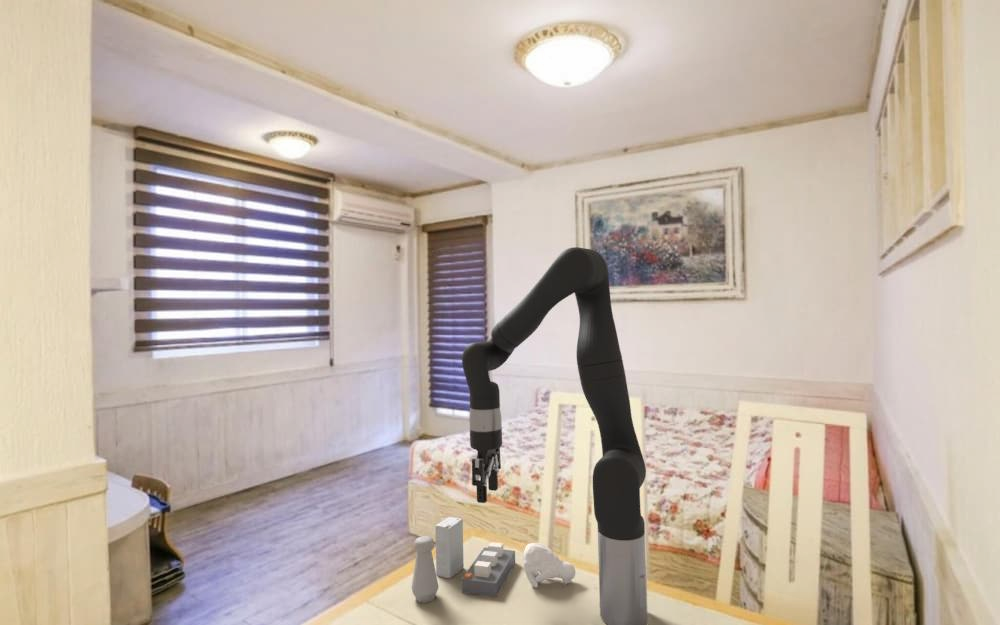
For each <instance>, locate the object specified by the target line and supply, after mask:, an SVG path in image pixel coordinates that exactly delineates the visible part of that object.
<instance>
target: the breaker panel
mask: <svg viewBox="0 0 1000 625" xmlns="http://www.w3.org/2000/svg"><path fill="white" fill-rule="evenodd" d="M484 551H492V552H497V559H498V562H497V564H496V566H495V567H493V566H491V562H484V561H482V557H481V555H482V553H483V552H484ZM515 564H516V550H511V549H504V543H502V542H493V541H491V542H490V543H489V544H488V545H487V547H483V549H482V550H481V551H480V553H479V554H478V556H477V557H476V558H475V560H474V561H473V562H472V563H471V565H470V567H469V568H468V569H467V570H466V572H465V574H464V575H463V576H462V578H461V593H464V594H470V595H478V596H484V597H485V596H487V597H494V598H497V597H498V595H499V593H500V591H501V590H502V588H503V586H504V584H505V583H504V582H507V578H508V577H509V575H510V574H509V573H511V572H512V570H513V568H514V566H515ZM511 569H512V570H511ZM510 571H511V572H510Z"/></svg>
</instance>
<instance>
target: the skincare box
mask: <svg viewBox="0 0 1000 625" xmlns="http://www.w3.org/2000/svg"><path fill="white" fill-rule="evenodd" d="M463 522H464V521H463V519H462V518H460V517H459V518H458V517H452V516H448V517H447V518H445V519H443V520H442V521H440V522H439V523H438V524H436V525H435V526H434V527H435V567H436V568H435V571H436V576H438V577H442V578H446V579H452V578H453V577H454V576H455V575H456V574H458V573H459V572H460V571H461V570H462V569H464V566H465V565H464V530H463V529H464V525H463V524H464V523H463Z"/></svg>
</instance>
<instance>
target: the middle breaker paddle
mask: <svg viewBox="0 0 1000 625" xmlns="http://www.w3.org/2000/svg"><path fill="white" fill-rule="evenodd" d="M481 557H482V561H484V562H491V566H493V567H495V566H496V564H497V562H498V559H497V552H492V551H484V552H483V553H482V555H481Z"/></svg>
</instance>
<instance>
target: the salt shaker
mask: <svg viewBox="0 0 1000 625" xmlns="http://www.w3.org/2000/svg"><path fill="white" fill-rule="evenodd" d="M413 546H414V547H413V548H414V552H416V556H415V560H414V561H415V562H414V567H413V568H414V569H413V577H412V581H411V582H412V583H411V591H412V594H413V596H414V597H415V599H416V601H417V602H418V603H424V604H428V603H430V602H432V601H434V600H435V598H436V594H437V592H438V590H439V582H438V579H437V575H436V568H435V567H436V565H435V563H434V558H433V553H432V551H433V550H434V548H435V542H434V538H432V537H431V536H429V535H421V536H418V537H417V538H416V539H415V540H414V542H413Z"/></svg>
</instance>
